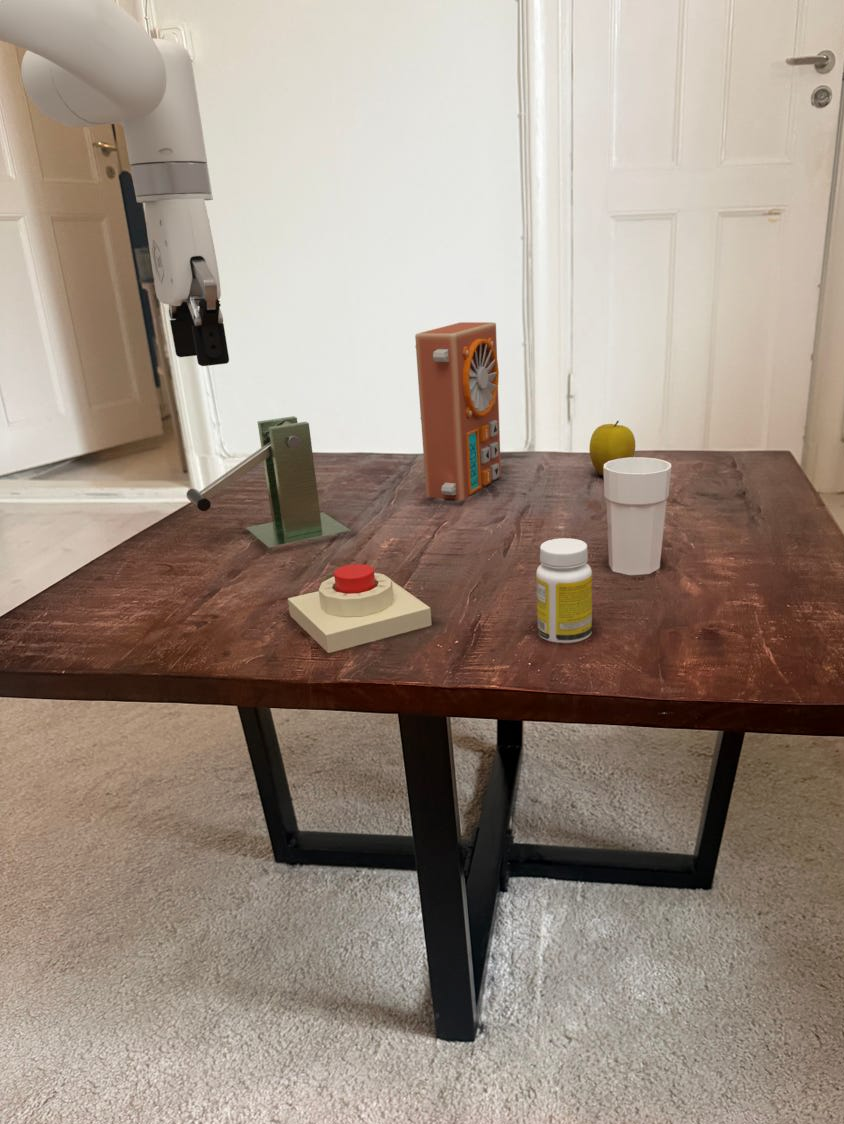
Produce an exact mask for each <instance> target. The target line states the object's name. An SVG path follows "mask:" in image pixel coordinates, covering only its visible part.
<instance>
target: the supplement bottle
mask: <svg viewBox="0 0 844 1124" xmlns="http://www.w3.org/2000/svg"><path fill="white" fill-rule="evenodd" d="M588 551H589V550H588V543H586V542H585V541H583V540H581V539H577V538H569V537H567V538H566V537H560V538H553V539H549V540H546V541H544V542H543V543H541V545H540V546H539V562H540V565H539V566H537V569H536V572H535V573H536V574H535V583H536V584H535V587H536V617H537V618H536V619H537V620H536V621H537V622H536V623H537V634H538V636H539V637H540V638H542V639H544V640H546V641H549V642H551V643H552V642H553V643H558V644H559V643H560V644H570V643H571V644H572V643H576V642H581V641H584V640H586V639H588V638H589V637H590V636H591V635H592V633H593V570H592V567H591V566H590V565H589V564H588V560H589V555H588V554H589V553H588Z"/></svg>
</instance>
